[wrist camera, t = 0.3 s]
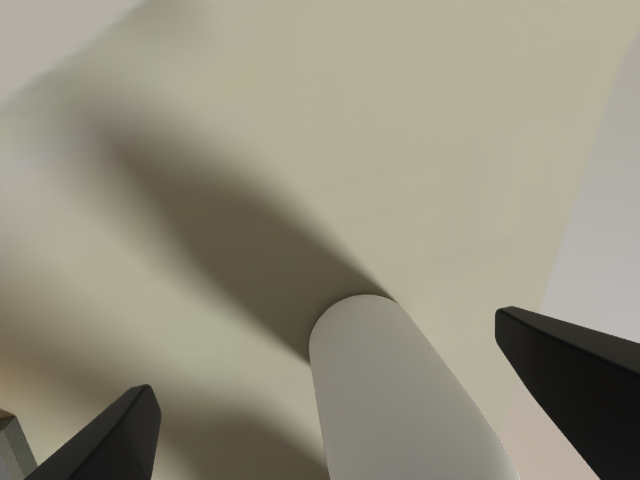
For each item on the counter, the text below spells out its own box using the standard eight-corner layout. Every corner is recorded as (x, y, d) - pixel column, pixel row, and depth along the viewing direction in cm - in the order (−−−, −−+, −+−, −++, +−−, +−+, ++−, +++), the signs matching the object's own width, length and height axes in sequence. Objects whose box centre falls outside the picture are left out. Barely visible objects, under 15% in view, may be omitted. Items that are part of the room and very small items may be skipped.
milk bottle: (291, 316, 25) (349, 938, 5) (394, 274, 25) (809, 742, 6) (329, 399, 27) (465, 1043, 8) (423, 361, 27) (787, 903, 8)
